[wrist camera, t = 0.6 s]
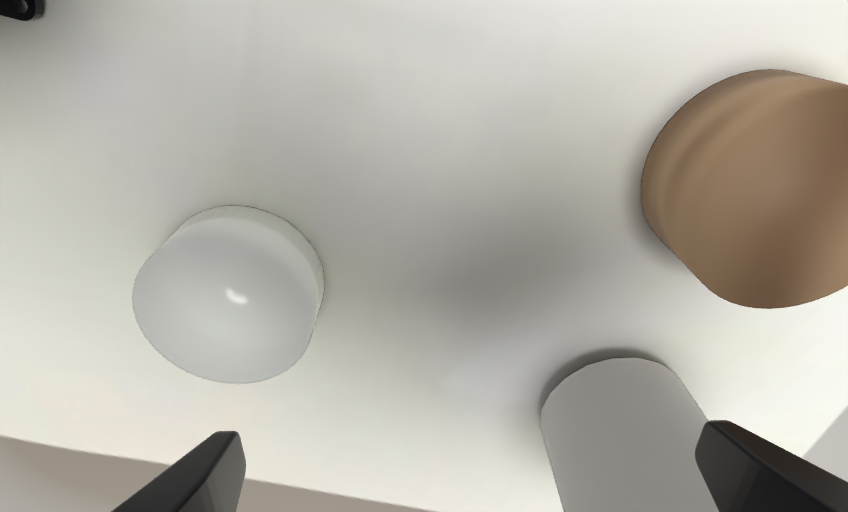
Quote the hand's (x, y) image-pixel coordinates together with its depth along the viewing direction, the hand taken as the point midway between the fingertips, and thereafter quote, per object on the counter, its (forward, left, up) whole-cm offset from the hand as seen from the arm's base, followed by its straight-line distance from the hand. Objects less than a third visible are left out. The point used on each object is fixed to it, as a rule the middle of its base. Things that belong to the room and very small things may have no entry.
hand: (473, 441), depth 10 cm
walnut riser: (+11, +4, -13) cm, 18 cm away
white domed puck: (-8, -6, -13) cm, 16 cm away
